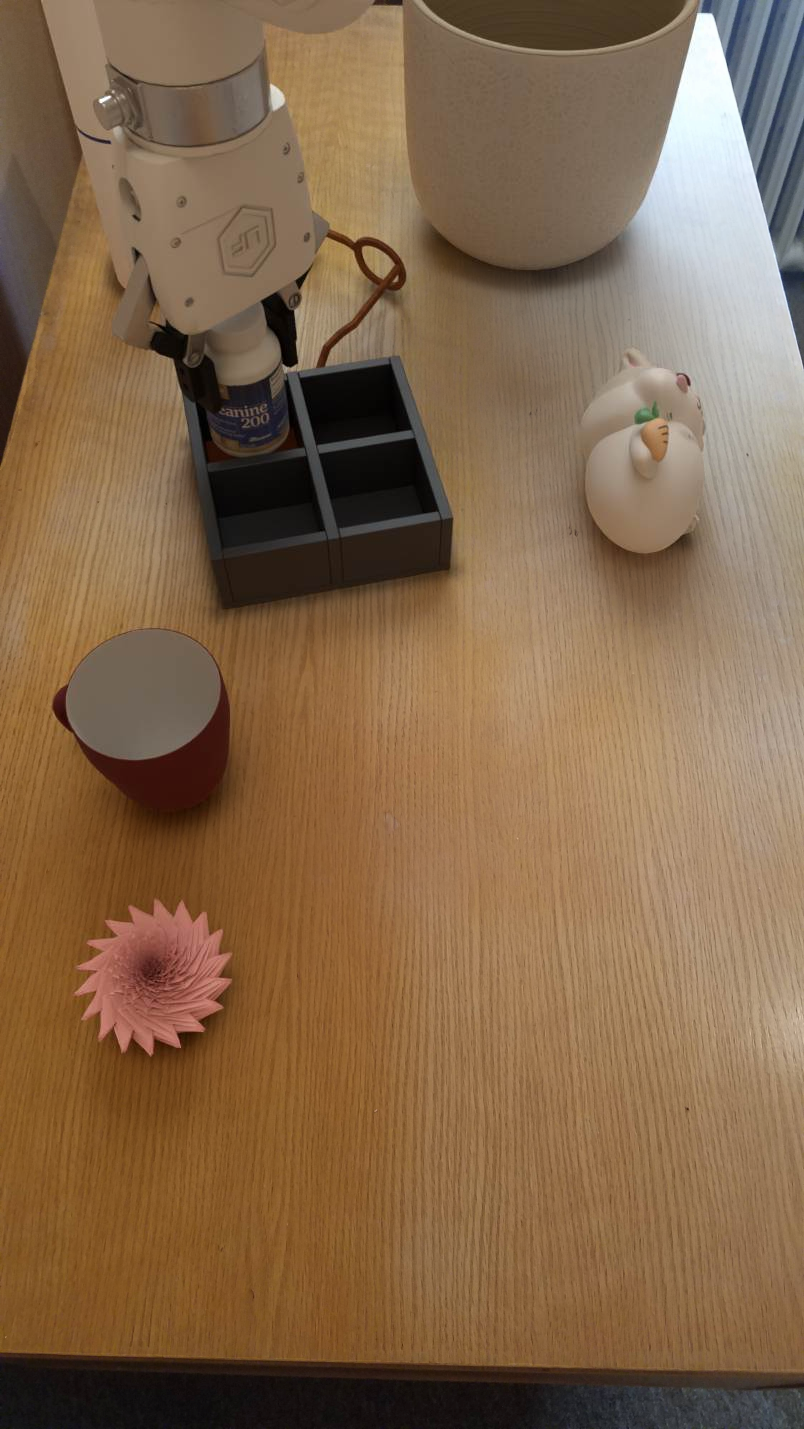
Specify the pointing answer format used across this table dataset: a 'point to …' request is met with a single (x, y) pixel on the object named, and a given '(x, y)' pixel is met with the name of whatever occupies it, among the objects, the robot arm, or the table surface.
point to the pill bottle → (248, 385)
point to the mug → (151, 716)
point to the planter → (539, 119)
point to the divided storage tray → (325, 490)
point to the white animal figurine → (644, 455)
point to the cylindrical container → (89, 108)
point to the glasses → (382, 284)
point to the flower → (155, 977)
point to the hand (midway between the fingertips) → (241, 376)
